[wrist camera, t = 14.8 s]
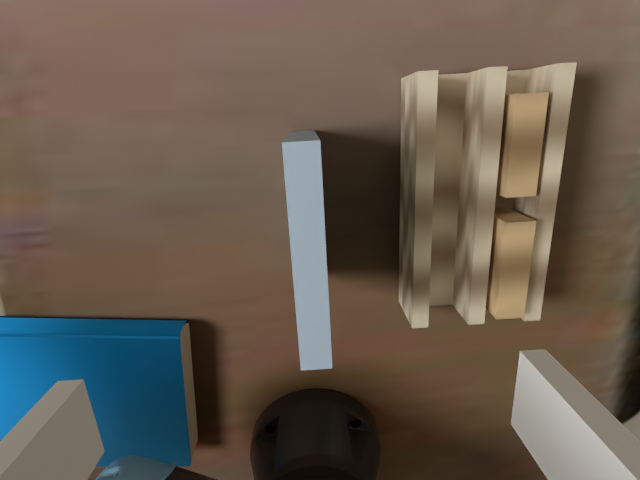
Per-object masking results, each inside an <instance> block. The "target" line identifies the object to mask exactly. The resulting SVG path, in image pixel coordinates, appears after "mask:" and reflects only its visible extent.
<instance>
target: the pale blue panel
mask: <svg viewBox="0 0 640 480" xmlns="http://www.w3.org/2000/svg"><path fill="white" fill-rule="evenodd" d="M282 150H283V162H284V174H285V186H286V199H287V211H288V223H289V235H290V247H291V259H292V271H293V283H294V295H295V307H296V319H297V331H298V343H299V355H300V367H301V371H302V370H316V369H331V368H332V352H331V332H330V313H329V294H328V275H327V256H326V237H325V218H324V199H323V179H322V160H321V141H320V139H319V137H318V136H317V134H316V132H315V131H314V130H311V131H293V132H291V134H290V135H289V136H288V137H287V138H286V139H285V140H284V141H283V142H282Z"/></svg>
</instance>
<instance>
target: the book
mask: <svg viewBox="0 0 640 480" xmlns="http://www.w3.org/2000/svg"><path fill="white" fill-rule="evenodd" d="M186 321H189V320H128V319H66V318H5V316H0V441H1V440H2V439H3V438H4V437H5V436H6V435H7V434H8V433H9V432H10V430H11V429H12V428H13V427H14V426H15V425H16V424H17V423H18V422H19V421H20V420H21V419H22V418H23V417H24V416H25V415H26V414H27V413H28V412H29V411H30V409H31V408H32V407H33V406H34V405H35V404H36V403H37V402H38V401H39V400H40V399H41V398H42V397H43V396H44V395H45V394H46V393H47V392H48V391H49V389H50V388H51V387H52V386H53V385H54V384H55V383H56V382H57V381H65V380H81V379H84V383H85V386H86V390H87V393H88V396H89V400H90V403H91V407H92V410H93V413H94V417H95V420H96V423H97V427H98V430H99V434H100V437H101V440H102V444H103V447H104V451H105V452H104V453H103V455H102V456H101V458H100V460H99V461H98V463H97V465H96V466H109V465H110V464H111V463H112V462H113V461H115V460H117V459H119V458H121V457H123V456H127V455H138V456H141V457H145V458H149V459H153V460H156V461H160V462H164V463H168V464H170V463H172V462H175V463H178V465H177V466H190V465H191V459H192V456H193V453H194V450H195V447H196V444H197V441H198V431H197V418H196V406H195V393H194V381H193V368H192V355H191V343H190V330H189V323H185V322H186Z"/></svg>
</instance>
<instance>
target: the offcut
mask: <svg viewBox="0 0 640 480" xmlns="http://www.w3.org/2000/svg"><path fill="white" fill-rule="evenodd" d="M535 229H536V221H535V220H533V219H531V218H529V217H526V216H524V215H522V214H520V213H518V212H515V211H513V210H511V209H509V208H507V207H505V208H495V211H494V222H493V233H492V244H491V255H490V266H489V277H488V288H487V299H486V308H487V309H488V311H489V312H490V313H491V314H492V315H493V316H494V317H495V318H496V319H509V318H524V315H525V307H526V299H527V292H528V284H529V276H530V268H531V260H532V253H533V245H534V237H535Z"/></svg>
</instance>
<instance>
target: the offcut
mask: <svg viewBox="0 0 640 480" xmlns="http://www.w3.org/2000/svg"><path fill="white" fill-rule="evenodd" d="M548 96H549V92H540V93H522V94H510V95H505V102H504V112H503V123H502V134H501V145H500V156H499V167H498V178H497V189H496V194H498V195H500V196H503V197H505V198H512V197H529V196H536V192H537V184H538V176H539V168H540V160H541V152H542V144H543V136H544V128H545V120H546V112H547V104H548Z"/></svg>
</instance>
